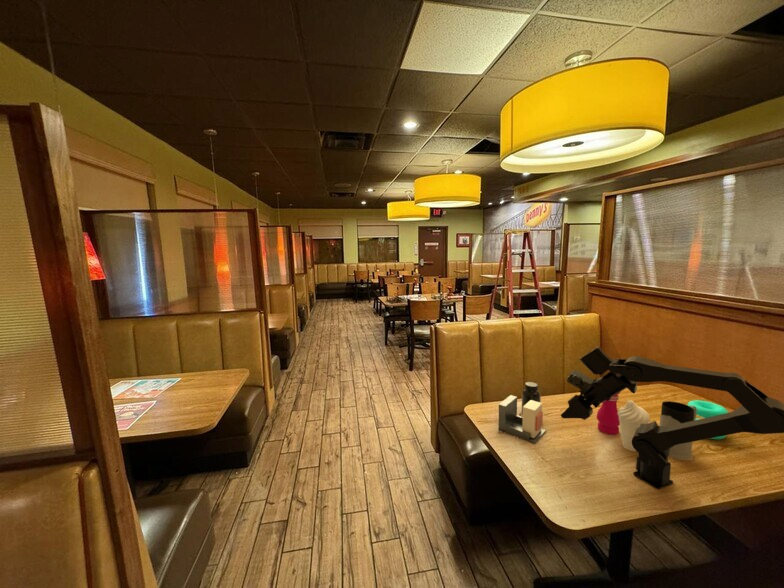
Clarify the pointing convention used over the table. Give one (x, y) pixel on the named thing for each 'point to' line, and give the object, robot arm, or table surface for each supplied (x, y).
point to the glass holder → (673, 416)
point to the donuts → (708, 410)
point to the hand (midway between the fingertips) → (566, 411)
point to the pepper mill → (609, 416)
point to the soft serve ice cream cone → (631, 422)
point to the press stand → (514, 421)
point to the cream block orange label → (532, 418)
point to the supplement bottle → (530, 393)
